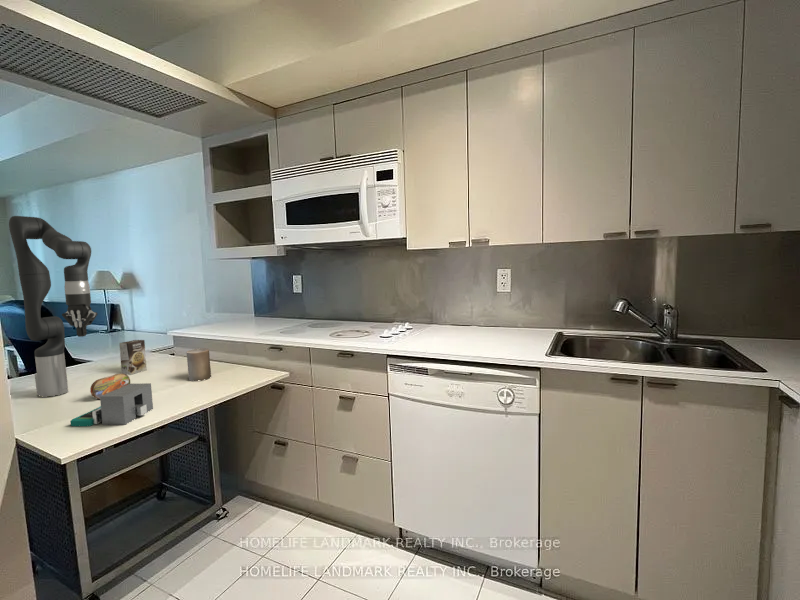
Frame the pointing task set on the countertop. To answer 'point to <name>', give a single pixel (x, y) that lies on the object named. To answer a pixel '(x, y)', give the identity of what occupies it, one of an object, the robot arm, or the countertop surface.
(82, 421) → the digital multimeter
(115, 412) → the gray tunnel block
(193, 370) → the pillar candle
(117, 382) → the tin
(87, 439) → the countertop surface
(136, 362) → the food box
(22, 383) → the countertop surface
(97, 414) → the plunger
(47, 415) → the countertop surface
